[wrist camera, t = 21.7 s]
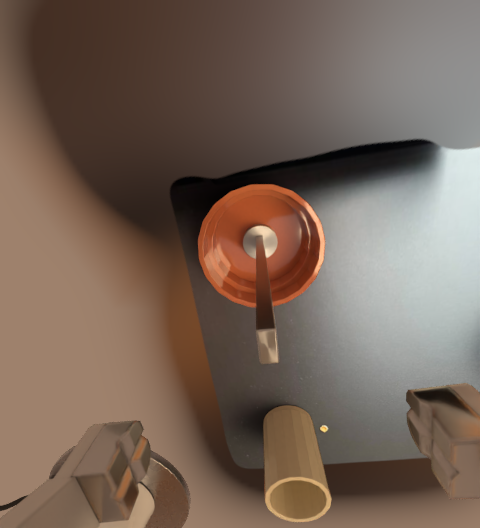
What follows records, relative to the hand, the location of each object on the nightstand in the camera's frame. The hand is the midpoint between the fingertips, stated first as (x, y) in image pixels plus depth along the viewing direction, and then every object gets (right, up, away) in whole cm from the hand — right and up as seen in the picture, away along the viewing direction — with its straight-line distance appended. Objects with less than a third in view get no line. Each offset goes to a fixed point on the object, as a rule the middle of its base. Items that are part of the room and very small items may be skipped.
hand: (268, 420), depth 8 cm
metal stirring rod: (+2, +8, +26) cm, 27 cm away
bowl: (+2, +8, +27) cm, 28 cm away
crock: (+7, -23, +36) cm, 43 cm away
